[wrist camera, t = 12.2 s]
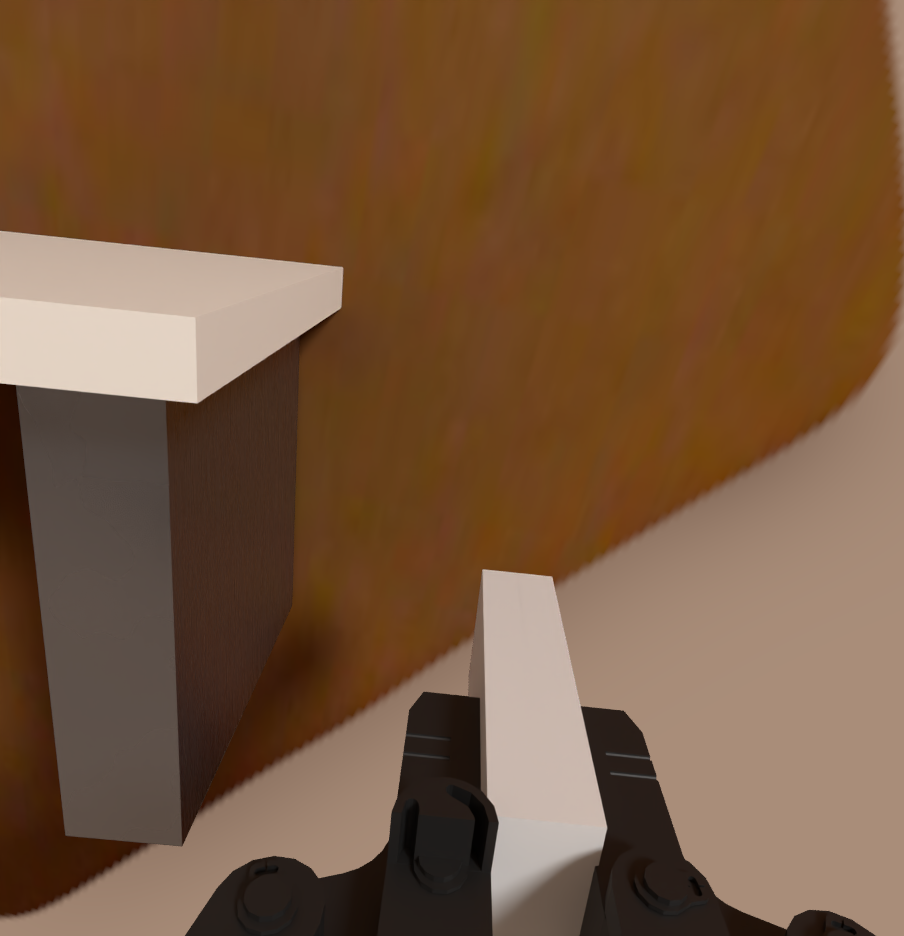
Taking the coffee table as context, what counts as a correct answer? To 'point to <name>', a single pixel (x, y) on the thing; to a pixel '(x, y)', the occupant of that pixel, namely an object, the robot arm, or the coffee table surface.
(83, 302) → the white upright backboard
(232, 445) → the bookend
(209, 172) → the coffee table surface
